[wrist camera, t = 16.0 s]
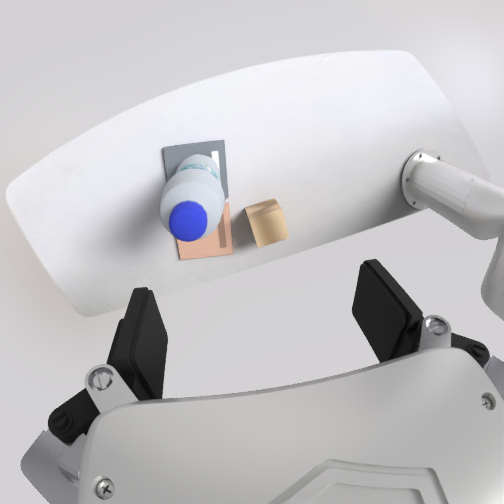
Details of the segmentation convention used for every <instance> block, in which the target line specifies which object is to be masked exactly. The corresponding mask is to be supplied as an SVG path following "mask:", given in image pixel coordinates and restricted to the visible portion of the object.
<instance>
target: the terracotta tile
mask: <svg viewBox="0 0 504 504" xmlns="http://www.w3.org/2000/svg"><path fill="white" fill-rule="evenodd" d="M177 243H178V248H179V253H180V258H181V260H184V259H193V258H202V257H211V256H220V255H229V254H233V246H232V235H231V223H230V211H229V203H225V206H224V210H223V213H222V216H221V220H220V222H219V224H218V226H217V228H216V229H215V230H214V231H213V232H212V233H211V234H210V235H208V236H206V237H205V238H202V239H199V240H195V241H191V242H185V241H181V240H178V239H177Z"/></svg>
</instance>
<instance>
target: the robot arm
mask: <svg viewBox="0 0 504 504" xmlns="http://www.w3.org/2000/svg"><path fill="white" fill-rule="evenodd" d="M402 192H403V195H404V197H405V199H406V201H407V202H408V203H409V204H410V205H411V206H413V207H414V208H416V209H427V208H430V209H432V210H433V211H435V212H436V213H438V214H440V215H441V216H443V217H445V218H446V219H447V220H449V221H450V222H452V223H453V224H455V225H456V226H458V227H459V228H461V229H462V230H464V231H465V232H466V233H468V234H469V235H471V236H472V237H474V238H476V239H479V240H488V239H492V238H496V237H499V238H498V243H497V246H496V250H495V252H494V255H493V257H492V260H491V263H490V265H489V267H488V270H487V272H486V275H485V277H484V280H483V282H482V286H481V295H482V299H483V300H484V302H485V303H486V305H487V306H488V307H489V308H490V310H492V311H493V312H494V313H495V314H496V315H497V316H499V317H500V318H501V319H502V320H503V321H504V189H502V188H500V187H497V186H496V185H493V184H492V183H490V182H488V181H485V180H483V179H481V178H479V177H477V176H475V175H472V174H470V173H468V172H466V171H463V170H461V169H459V168H456V167H454V166H452V165H449V164H447V163H444V160H443V159H442V157H441V156H440V155H439V154H438V153H437V152H436V151H434V150H431V149H421V150H418V151H417V152H415V153H414V154H413V155H412V156H411V157H410V158H409V160H408V161H407V163H406V165H405V167H404V171H403V174H402ZM352 313H353V316H354V318H355V319H356V321H357V323H358V325H359V326H360V328H361V330H362V331H363V333H364V335H365V336H366V338H367V340H368V342H369V344H370V345H371V347H372V349H373V351H374V353H375V354H376V356H377V358H378V360H379V362H380V363H379V364H376V365H372V366H369V367H365V368H362V369H358V370H354V371H351V372H347V373H343V374H339V375H335V376H331V377H326V378H322V379H317V380H313V381H308V382H303V383H298V384H293V385H287V386H282V387H276V388H269V389H263V390H256V391H249V392H241V393H232V394H223V395H212V396H200V397H186V398H168V399H162V394H163V381H164V371H165V362H166V352H167V344H168V337H167V332H166V329H165V327H164V324H163V321H162V318H161V315H160V312H159V310H158V306H157V303H156V300H155V297H154V294H153V291H152V290H148V288H147V287H143V288H135V289H134V290H133V293H132V296H131V299H130V302H129V305H128V308H127V311H126V314H125V317H124V319H121V320H120V321H119V324H118V327H117V330H116V333H115V336H114V339H113V343H112V346H111V350H110V353H109V356H108V360H107V364H102V365H97V366H95V367H93V368H92V369H91V370H89V372H88V373H87V375H86V377H85V386H86V388H85V389H84V390H82V391H81V392H79V393H78V394H77V395H75V396H74V397H72V398H71V399H69V400H68V401H66V402H65V403H64V404H62V405H61V406H59V407H58V408H56V409H55V410H54V411H53V412H52V413H51V415H50V416H49V420H48V427H49V429H48V430H47V431H46V432H45V431H42V433H41V434H40V436H39V437H38V438H37V439H36V440H35V442H34V443H33V444H32V446H31V447H30V448H29V450H28V451H27V452H26V453H25V455H24V456H23V458H22V460H21V470H22V472H23V474H24V475H25V476H26V477H27V479H28V480H29V481H30V482H31V483H32V485H33V486H34V487H35V488H36V489H37V490H38V491H39V492H40V494H41V495H42V496H43V497H44V498H45V499H46V500H47V501H48V502H49V503H50V504H504V362H503V361H501V360H499V359H498V358H496V357H495V356H492V357H490V354H489V351H488V349H487V348H486V346H485V345H484V344H482V343H480V342H478V341H475V340H472V339H469V338H466V337H463V336H460V335H457V334H454V333H451V326H450V324H449V323H448V322H447V321H446V320H445V319H444V318H442V317H440V316H437V315H430V316H427V317H426V318H424V317H423V316H422V314H423V313H422V311H421V310H420V309H419V308H418V306H417V305H416V304H415V303H414V301H413V300H412V299H411V298H410V297H409V295H408V294H407V293H406V292H405V291H404V289H403V288H402V287H401V286H400V285H399V284H398V283H397V281H396V280H395V279H394V278H393V277H392V276H391V275H390V273H389V272H388V271H387V270H386V269H385V268H384V267H383V266H382V265H381V263H380V262H379V261H378V260H376V259H372V260H366V261H364V262H363V264H361V266H360V270H359V276H358V282H357V287H356V292H355V297H354V302H353V306H352ZM79 470H80V471H79ZM78 472H79V478H78Z"/></svg>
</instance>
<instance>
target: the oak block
mask: <svg viewBox="0 0 504 504" xmlns="http://www.w3.org/2000/svg"><path fill="white" fill-rule="evenodd" d="M245 210H246V213H247V217H248V220H249V223H250V226H251V229H252V232H253V235H254V238H255V241H256V243H257V246H258V248H260V247H263V246H266V245H269V244H272V243H275V242H278V241H281V240H284V239H287V238H289V235H288V231H287V227H286V223H285V219H284V215H283V211H282V208H281V207H280V205H279V204H278V203H277V201H276V200H275V199H270V200H267V201H264V202H261V203H258V204H255V205H252V206H249V207H246V208H245Z"/></svg>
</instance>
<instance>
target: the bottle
mask: <svg viewBox="0 0 504 504" xmlns="http://www.w3.org/2000/svg"><path fill="white" fill-rule="evenodd" d="M224 206H225V196H224V192H223V189H222V187H221V185H220V170H219V168H218V166H217V164H216V163H215V161H214V160H213V159H212V158H210V157H208V156H205V155H200V154H195V155H192V156H189V157H187V158H186V159H184V160H183V161H182V162H181V163H180V165H179V166H178V168H177V171H176V174H175V175H174V176H173V177H172V178H171V179H170V180H169V181H168V182H167V183H166V185H165V186H164V188H163V191H162V194H161V203H160V217H161V221H162V223H163V225H164V227H165V228H166V229H167V230H168V231H169V232H170V233H171V234H172V235H174V236H175V237H176V238H177V239H178V240H181V241H185V242H191V241H195V240H199V239H202V238H205V237H206V236H208V235H210V234H211V233H212V232H213V231H214V230H215V229H216V228H217V226H218V224H219V222H220V220H221V216H222V213H223V210H224Z"/></svg>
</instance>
